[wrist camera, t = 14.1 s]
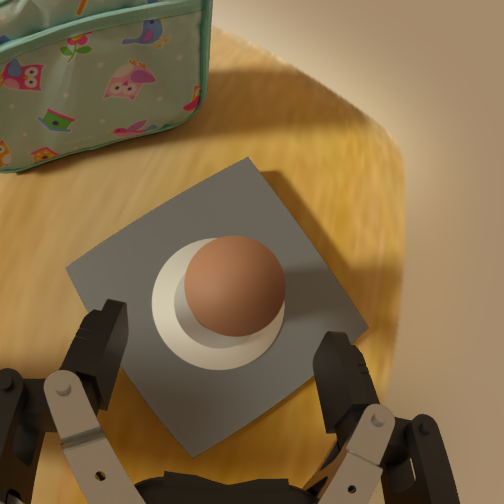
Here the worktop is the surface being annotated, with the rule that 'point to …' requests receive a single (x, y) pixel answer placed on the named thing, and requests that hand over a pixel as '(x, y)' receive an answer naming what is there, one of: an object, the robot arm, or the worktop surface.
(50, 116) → the lunch box
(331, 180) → the worktop surface
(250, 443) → the worktop surface
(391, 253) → the worktop surface
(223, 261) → the handle
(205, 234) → the plate
